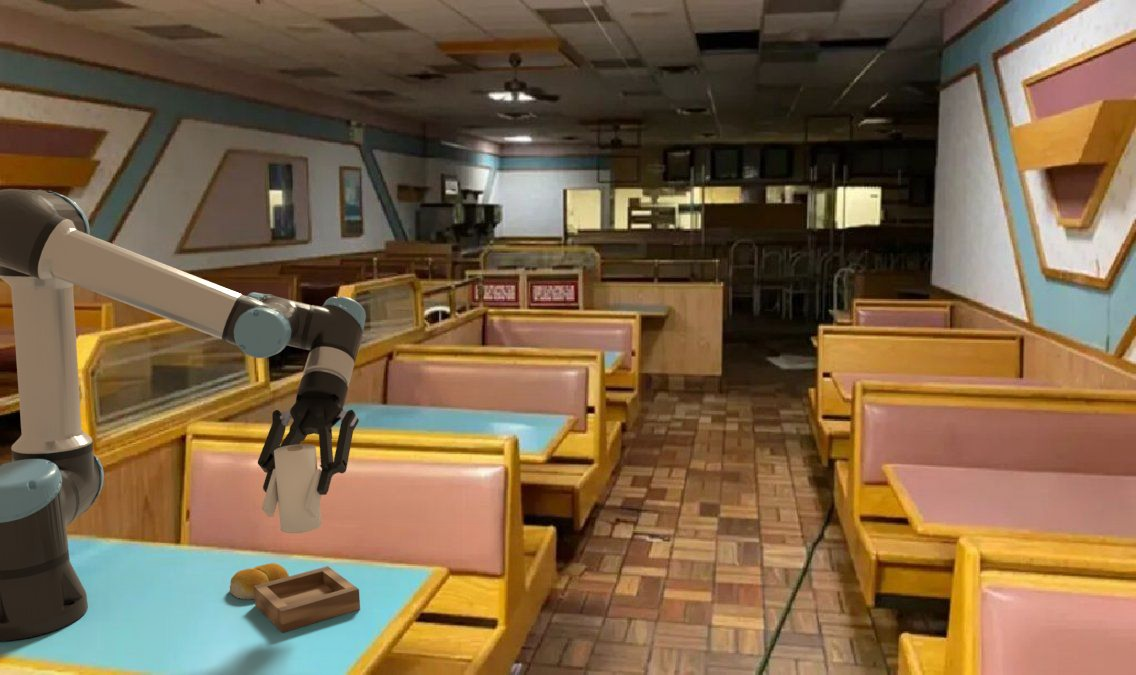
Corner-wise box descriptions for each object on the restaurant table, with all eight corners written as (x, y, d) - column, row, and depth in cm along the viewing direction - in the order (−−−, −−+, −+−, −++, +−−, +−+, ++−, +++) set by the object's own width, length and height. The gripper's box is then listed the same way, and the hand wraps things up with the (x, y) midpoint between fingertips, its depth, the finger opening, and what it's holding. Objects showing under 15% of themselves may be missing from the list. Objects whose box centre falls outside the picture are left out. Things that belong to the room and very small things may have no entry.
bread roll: (298, 587, 150) (297, 563, 150) (247, 605, 144) (245, 581, 143) (272, 574, 156) (271, 551, 156) (222, 591, 150) (220, 568, 149)
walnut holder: (255, 605, 143) (253, 585, 143) (329, 584, 150) (327, 566, 150) (282, 632, 134) (280, 611, 133) (360, 609, 141) (358, 589, 140)
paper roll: (274, 525, 141) (268, 447, 139) (312, 517, 144) (306, 440, 143) (288, 536, 136) (282, 455, 134) (327, 526, 140) (321, 447, 138)
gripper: (388, 394, 151) (358, 525, 138) (278, 394, 154) (238, 523, 141) (374, 368, 145) (342, 502, 132) (261, 369, 148) (217, 500, 135)
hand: (288, 512), depth 136 cm, fingers closed on paper roll, 6 cm apart
